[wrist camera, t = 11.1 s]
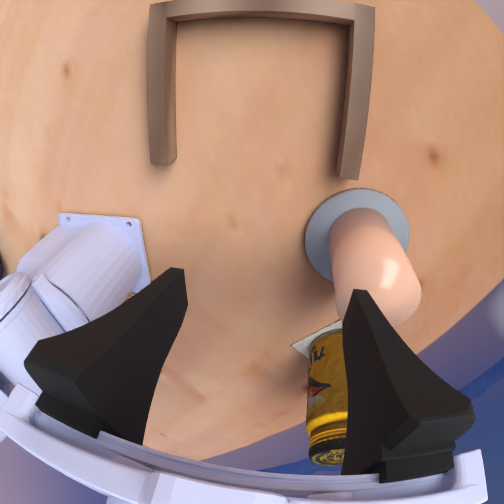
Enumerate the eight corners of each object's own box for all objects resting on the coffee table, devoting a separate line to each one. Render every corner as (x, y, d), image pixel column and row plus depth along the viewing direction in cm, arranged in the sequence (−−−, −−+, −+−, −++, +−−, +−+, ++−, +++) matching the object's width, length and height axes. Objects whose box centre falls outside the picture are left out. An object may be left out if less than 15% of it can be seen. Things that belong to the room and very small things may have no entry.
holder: (161, 157, 20) (150, 164, 18) (161, 9, 14) (149, 4, 12) (353, 172, 18) (358, 180, 17) (368, 13, 12) (375, 7, 11)
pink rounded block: (375, 289, 23) (391, 356, 17) (318, 283, 23) (321, 353, 17) (398, 212, 19) (433, 270, 13) (333, 203, 19) (347, 261, 13)
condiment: (290, 344, 28) (280, 456, 18) (364, 304, 24) (383, 429, 14) (331, 375, 30) (330, 473, 20) (397, 343, 27) (417, 449, 17)
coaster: (298, 276, 24) (298, 280, 23) (312, 180, 19) (312, 183, 19) (390, 285, 23) (392, 290, 22) (418, 197, 18) (421, 200, 18)
